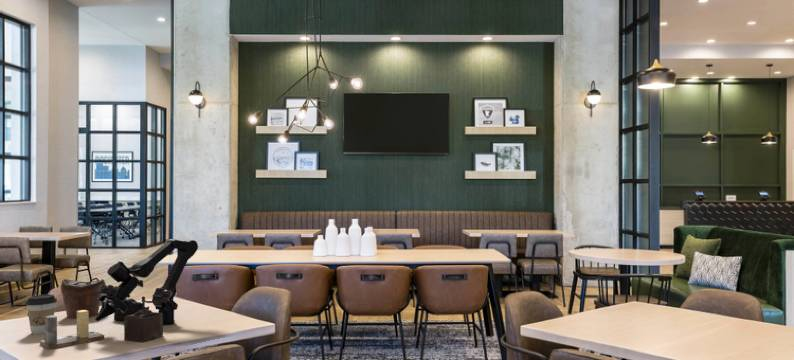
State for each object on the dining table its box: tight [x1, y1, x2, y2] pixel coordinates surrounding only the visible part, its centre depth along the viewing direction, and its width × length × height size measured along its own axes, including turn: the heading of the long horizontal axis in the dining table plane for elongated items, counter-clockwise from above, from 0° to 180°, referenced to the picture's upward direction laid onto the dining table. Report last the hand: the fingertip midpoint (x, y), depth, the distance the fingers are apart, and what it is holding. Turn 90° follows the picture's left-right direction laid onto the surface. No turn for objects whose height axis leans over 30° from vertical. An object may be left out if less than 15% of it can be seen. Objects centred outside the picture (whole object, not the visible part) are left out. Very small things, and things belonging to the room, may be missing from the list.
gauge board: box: [39, 314, 105, 350], centre depth 218 cm, size 20×10×12 cm, turn 137°
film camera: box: [113, 298, 150, 322], centre depth 255 cm, size 18×12×10 cm
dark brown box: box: [123, 290, 172, 343], centre depth 225 cm, size 16×11×18 cm
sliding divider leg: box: [76, 310, 90, 338], centre depth 220 cm, size 3×8×10 cm, turn 47°
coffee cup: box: [25, 293, 58, 335], centre depth 234 cm, size 11×11×15 cm
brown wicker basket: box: [60, 277, 107, 319], centre depth 267 cm, size 18×20×18 cm
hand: (96, 320), depth 223 cm, fingers closed
